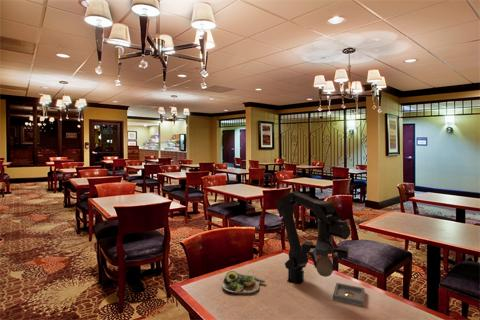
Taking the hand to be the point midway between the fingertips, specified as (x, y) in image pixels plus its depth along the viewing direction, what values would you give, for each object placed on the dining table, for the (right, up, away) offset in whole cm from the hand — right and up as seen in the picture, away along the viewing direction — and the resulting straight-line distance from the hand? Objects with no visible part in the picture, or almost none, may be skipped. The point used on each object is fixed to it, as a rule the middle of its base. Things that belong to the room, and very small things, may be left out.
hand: (324, 269), depth 119 cm
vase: (0, -3, 0) cm, 3 cm away
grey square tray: (+11, -12, +1) cm, 16 cm away
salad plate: (-36, -12, +11) cm, 39 cm away
